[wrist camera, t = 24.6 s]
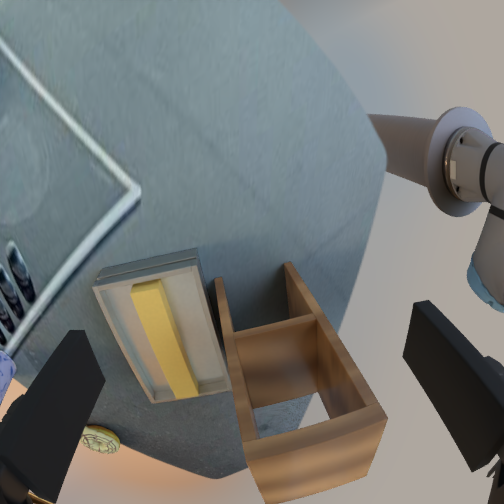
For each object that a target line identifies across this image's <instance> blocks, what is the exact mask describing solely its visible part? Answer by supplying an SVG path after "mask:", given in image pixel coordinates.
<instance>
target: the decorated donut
mask: <svg viewBox="0 0 504 504" xmlns="http://www.w3.org/2000/svg"><path fill="white" fill-rule="evenodd" d="M80 443H81V444H83V445H84V446H86V447H88V448H89V449H91V450H93V451H97V452H100V453H108V454H109V453H115V452H117V451H118V450H119V448H120V440H119V438H118V437H117V436H116V434H114V433H113V431H110V430H109V429H106V428H104V427H102V426H97V425H91V426H85V429H84V431H83V433H82V436H81V438H80Z"/></svg>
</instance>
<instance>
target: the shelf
mask: <svg viewBox="0 0 504 504" xmlns="http://www.w3.org/2000/svg"><path fill="white" fill-rule="evenodd" d="M284 271H285V280H286V289H287V298H288V307H289V316H290V319H288V320H284V321H280V322H276V323H272V324H268V325H264V326H260V327H255V328H251V329H246V330H242V331H237V332H235V330H234V326H233V322H232V318H231V314H230V310H229V305H228V301H227V297H226V293H225V288H224V284H223V280H222V277H219V278H215V279H214V281H215V288H216V295H217V301H218V308H219V314H220V321H221V327H222V333H223V339H224V345H225V351H226V357H227V363H228V369H229V375H230V380H231V386H232V391H233V397H234V402H235V408H236V413H237V418H238V423H239V428H240V434H241V439H242V444H243V449H244V453H245V458H246V462H247V465H248V467H249V469H250V471H251V473H252V476H253V478H254V480H255V482H256V484H257V487H258V489H259V491H260V493H261V495H262V497H263V499H264V502H265V504H278V503H282V502H286V501H291V500H295V499H298V498H302V497H305V496H309V495H312V494H316V493H319V492H323V491H326V490H329V489H332V488H335V487H338V486H341V485H344V484H346V483H349V482H352V481H355V480H357V479H360V478H362V477H365V476H366V475H367V473H368V470H369V468H370V465H371V463H372V461H373V458H374V456H375V453H376V450H377V447H378V445H379V442H380V440H381V437H382V434H383V431H384V428H385V425H386V423H387V420H388V417H387V416H386V414H385V412H384V410H383V409H382V407H381V405H380V404H379V402H378V400H377V399H376V397H375V395H374V394H373V392H372V391H371V389H370V387H369V385H368V384H367V382H366V380H365V379H364V377H363V375H362V374H361V372H360V371H359V369H358V367H357V366H356V364H355V362H354V361H353V359H352V358H351V356H350V354H349V353H348V351H347V349H346V348H345V346H344V345H343V343H342V341H341V340H340V338H339V337H338V335H337V333H336V332H335V330H334V329H333V327H332V325H331V324H330V322H329V321H328V319H327V317H326V316H325V314H324V313H323V311H322V309H321V308H320V306H319V305H318V303H317V302H316V300H315V298H314V297H313V295H312V294H311V292H310V291H309V289H308V287H307V286H306V284H305V283H304V281H303V280H302V278H301V277H300V275H299V274H298V272H297V270H296V269H295V267H294V266H293V264H292V263H291V262H287V263H284ZM316 392H318V393H319V395H320V397H321V400H322V402H323V404H324V406H325V409H326V411H327V413H328V415H329V418H330V420H327V421H324V422H321V423H318V424H315V425H311V426H308V427H304V428H301V429H297V430H293V431H290V432H286V433H282V434H278V435H274V436H270V437H265V438H261V439H260V437H259V433H258V429H257V425H256V420H255V416H254V412H253V409H255V408H259V407H264V406H268V405H272V404H276V403H280V402H284V401H288V400H292V399H295V398H299V397H302V396H306V395H309V394H313V393H316Z"/></svg>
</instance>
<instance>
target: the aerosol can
mask: <svg viewBox="0 0 504 504" xmlns="http://www.w3.org/2000/svg"><path fill="white" fill-rule="evenodd" d="M16 371H17V369H16V365H15V363H14V362H13V360H12V359H11V358H10V357H9V356H8V355H7V354H6V353H5V352H3V351H1V350H0V405H1V403H2V400H3V398H4V396H5V394H6V391H7V389H8V387H9V385H10V382H11V380H12V378H13V376H14V375H15V374H16Z"/></svg>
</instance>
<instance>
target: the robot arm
mask: <svg viewBox="0 0 504 504" xmlns="http://www.w3.org/2000/svg"><path fill="white" fill-rule="evenodd" d="M442 174H443V180H444V183H445V186H446V188H447V190H448V191H449V193H450V194H451V195H452V196H453V197H455V198H457V199H459V200H461V201H465V202H488V203H490V204H491V206H490V209H489V212H488V215H487V218H486V221H485V224H484V227H483V230H482V233H481V235H480V238H479V241H478V243H477V246H476V249H475V251H474V252H473V254H472V258H471V262H470V265H469V268H468V270H467V280H468V283H469V285H470V287H471V288H472V290H473V291H474V292H475V294H476V295H477V296H478V297H479V298H480V299H481V300H483V301H484V302H485V303H487V304H489V305H490V306H491V307H492V308H493V309H495V310H497V311H499V312H501V313H504V144H503V143H499V142H497V141H495V140H494V139H492V138H491V137H490V136H488V135H487V134H485V133H484V132H482V131H481V130H479V129H477V128H474V127H469V126H463V127H460V128H458V129H456V130H455V131H454V132H453V133H452V134H451V135H450V137H449V139H448V140H447V143H446V145H445V148H444V152H443V157H442ZM403 358H404V360H405V361H406V363H407V364H408V366H409V367H410V369H411V370H412V372H413V374H414V375H415V377H416V378H417V380H418V381H419V383H420V385H421V386H422V388H423V389H424V391H425V392H426V394H427V396H428V397H429V399H430V401H431V402H432V404H433V405H434V407H435V409H436V410H437V412H438V414H439V415H440V417H441V419H442V420H443V422H444V424H445V426H446V427H447V429H448V431H449V432H450V434H451V436H452V438H453V439H454V441H455V443H456V445H457V446H458V448H459V450H460V452H461V453H462V455H463V457H464V459H465V461H466V462H467V464H468V466H469V468H470V470H471V472H474V471H476V470H478V469H480V468H482V467H483V466H485V465H487V464H488V463H490V461H491V460H492V459H493V458H494V456H495V455H496V454H498V456H499V457H500V459H499V460H498V462H497V463H496V464H495V465H494V466H493V467H492V469H491V470H490V471H489V472H488V475H487V477H490V476H491V474H492V473H493V472H494V471H495V475H494V476H493V478H494V479H493V484H492V488H491V492H490V496H489V500H488V504H504V367H503V366H502V365H501V363H499V362H498V361H496V360H495V359H493V358H491V357H490V356H487V357H483V356H482V355H481V354H480V353H479V351H478V350H477V349H476V348H475V347H474V346H473V345H472V344H471V343H470V342H469V341H468V340H467V338H466V337H465V336H464V335H463V334H462V333H461V332H460V331H459V330H458V329H457V328H456V327H455V326H454V325H453V324H452V323H451V322H450V321H449V320H448V319H447V318H446V317H445V316H444V315H443V313H442V312H440V310H439V309H438V308H437V307H436V306H435V305H433V304H432V303H431V302H430V301H429V300H426V301H421V302H415V303H414V304H413V309H412V315H411V320H410V325H409V330H408V335H407V339H406V343H405V348H404V352H403ZM105 381H106V380H105V378H104V376H103V374H102V372H101V369H100V367H99V365H98V362H97V360H96V358H95V355H94V353H93V351H92V348H91V346H90V343H89V341H88V338H87V335H86V333H85V330H69V332H68V333H67V334H66V336H65V337H64V339H63V340H62V341H61V343H60V344H59V345H58V347H57V348H56V349H55V351H54V352H53V354H52V355H51V356H50V358H49V359H48V361H47V362H46V364H45V365H44V366H43V368H42V369H41V371H40V372H39V374H38V375H37V377H36V378H35V380H34V381H33V383H32V384H31V386H30V387H29V389H28V390H27V392H26V393H25V395H23V394H22V395H21V396H20V397H18V398H17V399H16V400H15V401H14V402H13V403H12V404H11V406H10V407H9V409H8V410H7V414H5V416H4V417H3V419H2V422H0V504H33V502H32V500H31V498H30V496H29V495H27V494H28V491H29V489H30V490H31V491H32V492H33V493H34V494H35V495H36V496H38V497H39V498H41V499H44V500H47V501H49V502H52V503H55V504H56V501H57V499H58V495H59V493H60V490H61V487H62V484H63V481H64V479H65V476H66V474H67V471H68V468H69V466H70V463H71V461H72V458H73V455H74V453H75V450H76V448H77V445H78V443H79V441H80V438H81V436H82V433H83V431H84V429H85V426H86V424H87V421H88V419H89V417H90V414H91V412H92V410H93V408H94V405H95V403H96V401H97V399H98V396H99V394H100V392H101V390H102V388H103V385H104V383H105Z"/></svg>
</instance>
